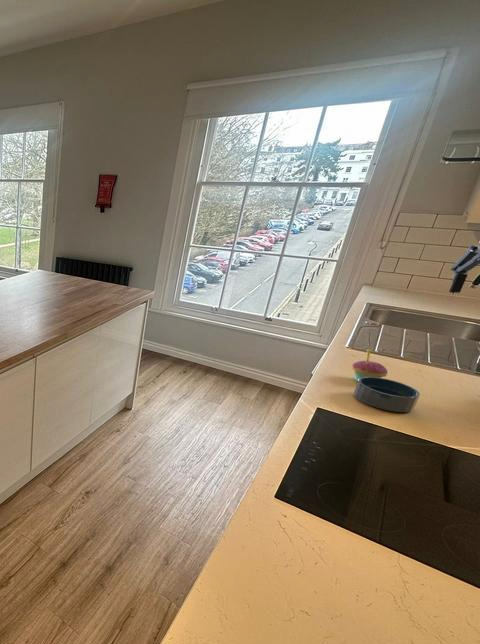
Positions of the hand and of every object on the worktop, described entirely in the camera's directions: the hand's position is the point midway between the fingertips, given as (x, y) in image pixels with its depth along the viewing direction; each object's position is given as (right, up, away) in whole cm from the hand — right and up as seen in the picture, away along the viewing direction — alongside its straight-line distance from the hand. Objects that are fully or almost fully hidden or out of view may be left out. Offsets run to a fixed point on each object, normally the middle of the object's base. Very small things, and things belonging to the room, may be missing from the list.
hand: (473, 297), depth 134 cm
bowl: (-42, -34, -11) cm, 55 cm away
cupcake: (-34, -29, +2) cm, 45 cm away
